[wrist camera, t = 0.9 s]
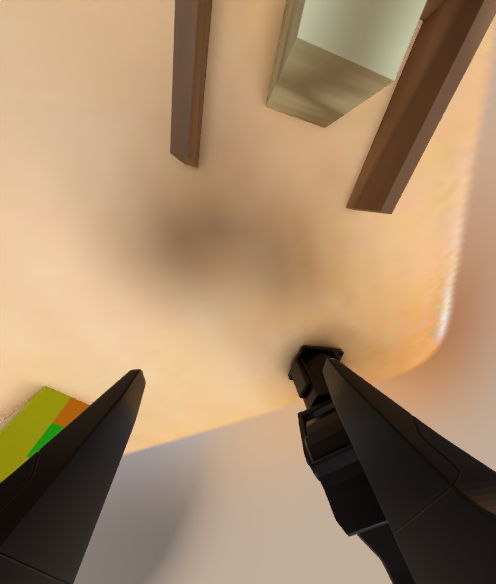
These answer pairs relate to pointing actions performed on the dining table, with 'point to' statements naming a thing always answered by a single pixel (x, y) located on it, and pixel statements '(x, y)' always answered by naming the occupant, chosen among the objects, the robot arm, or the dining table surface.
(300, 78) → the block
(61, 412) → the puzzle toy
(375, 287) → the dining table surface
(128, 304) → the dining table surface
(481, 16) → the open wooden frame
